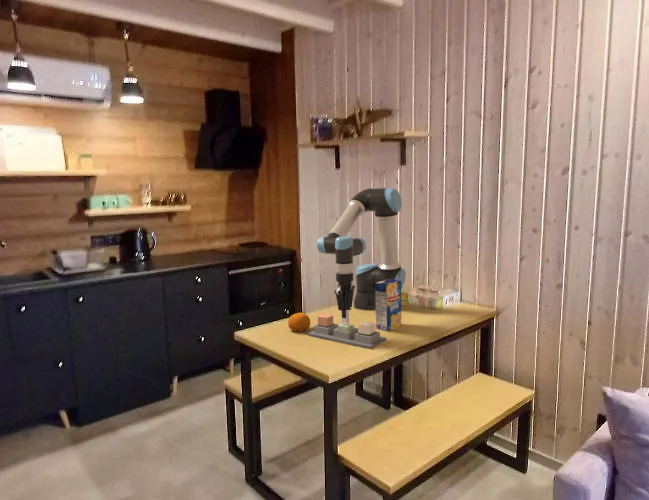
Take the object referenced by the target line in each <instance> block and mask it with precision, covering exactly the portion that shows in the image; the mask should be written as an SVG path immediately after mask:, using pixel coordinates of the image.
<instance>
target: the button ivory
mask: <svg viewBox="0 0 649 500" xmlns="http://www.w3.org/2000/svg"><path fill="white" fill-rule="evenodd" d="M375 331H376V322H372V321H366V320H365V321H363V322H361V323H359V324H358V332H359V333H361V334H366V335H370V334H372V333H374V332H375Z"/></svg>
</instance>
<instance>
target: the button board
mask: <svg viewBox="0 0 649 500" xmlns="http://www.w3.org/2000/svg"><path fill="white" fill-rule="evenodd" d="M338 325H339V323H334V322H333V324H332V325H330V326H327V327H326V326H321V325H318V323H317V324H314V325H313V330H312V331H309V332H307V336H308V337H311V338H317V339H322V340H325V341H326V340H327V341H331V342H335V343H340V344H344V345H348V346H352V347H359V348H363V349H367V350H372V349H374V348H375V347H377V346H379V345H380V344H382V343H384V342H385V341H386V340H387V338H386V337H384V336H381V332H380V331H376V330H375V332H374V333H372V334H370V335H366V334H361V333H359V327H355V326H354V329H353V330H351V331H349V332H345V331H340V330H338Z"/></svg>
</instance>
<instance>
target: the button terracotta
mask: <svg viewBox="0 0 649 500" xmlns="http://www.w3.org/2000/svg"><path fill="white" fill-rule="evenodd" d="M333 323H334V315H333V314H328V313H323V314H320V315H318V316H317V324H318V325H321V326H326V327H327V326H330V325H332V324H333Z"/></svg>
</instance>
